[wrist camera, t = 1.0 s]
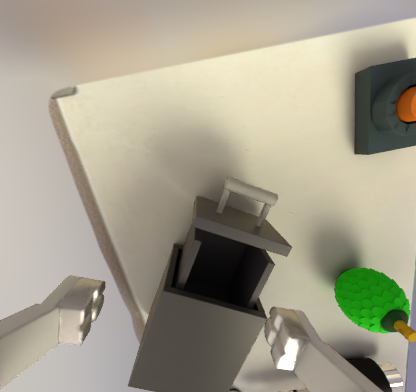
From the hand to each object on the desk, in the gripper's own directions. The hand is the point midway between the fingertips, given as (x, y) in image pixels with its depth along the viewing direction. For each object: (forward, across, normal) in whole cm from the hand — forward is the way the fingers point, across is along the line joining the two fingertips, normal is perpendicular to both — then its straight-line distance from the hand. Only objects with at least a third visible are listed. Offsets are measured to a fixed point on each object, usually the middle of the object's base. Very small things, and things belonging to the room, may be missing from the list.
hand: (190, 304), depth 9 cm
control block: (+18, -21, -17) cm, 33 cm away
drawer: (+17, -5, +4) cm, 18 cm away
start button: (+15, -21, -17) cm, 31 cm away
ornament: (+18, -27, +8) cm, 33 cm away
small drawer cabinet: (+18, -3, +15) cm, 23 cm away
